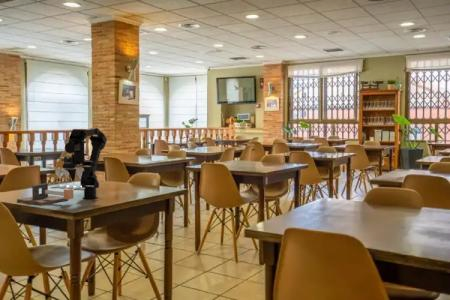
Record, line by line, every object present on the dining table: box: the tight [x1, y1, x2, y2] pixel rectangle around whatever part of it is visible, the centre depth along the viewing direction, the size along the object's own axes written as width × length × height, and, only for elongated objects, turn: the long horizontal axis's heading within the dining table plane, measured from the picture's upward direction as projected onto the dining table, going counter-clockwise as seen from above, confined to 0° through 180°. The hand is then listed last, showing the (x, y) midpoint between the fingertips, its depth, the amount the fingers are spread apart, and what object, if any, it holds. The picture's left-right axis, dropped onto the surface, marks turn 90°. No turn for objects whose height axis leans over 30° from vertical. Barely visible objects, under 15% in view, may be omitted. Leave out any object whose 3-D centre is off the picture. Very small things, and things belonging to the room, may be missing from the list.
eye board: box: [16, 183, 69, 206], centre depth 266 cm, size 20×18×9 cm
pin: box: [45, 188, 74, 200], centre depth 260 cm, size 18×4×5 cm, turn 61°
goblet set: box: [55, 166, 88, 188], centre depth 324 cm, size 28×6×13 cm, turn 69°
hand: (79, 180), depth 263 cm, fingers open, 9 cm apart
